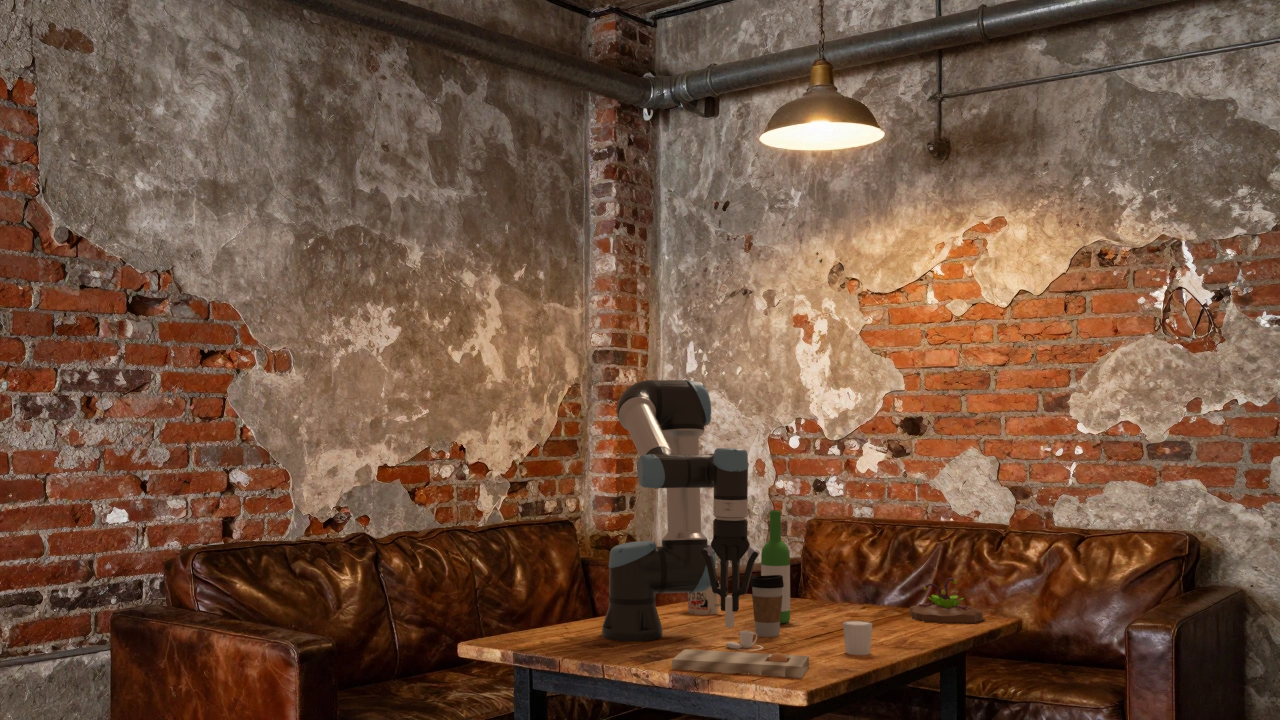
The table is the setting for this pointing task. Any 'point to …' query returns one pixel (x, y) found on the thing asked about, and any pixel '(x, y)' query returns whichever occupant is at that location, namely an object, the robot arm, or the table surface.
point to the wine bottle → (777, 561)
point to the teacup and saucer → (744, 641)
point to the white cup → (857, 637)
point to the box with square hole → (740, 663)
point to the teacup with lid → (703, 602)
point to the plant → (945, 608)
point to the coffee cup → (767, 604)
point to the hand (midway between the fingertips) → (729, 626)
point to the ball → (778, 658)
